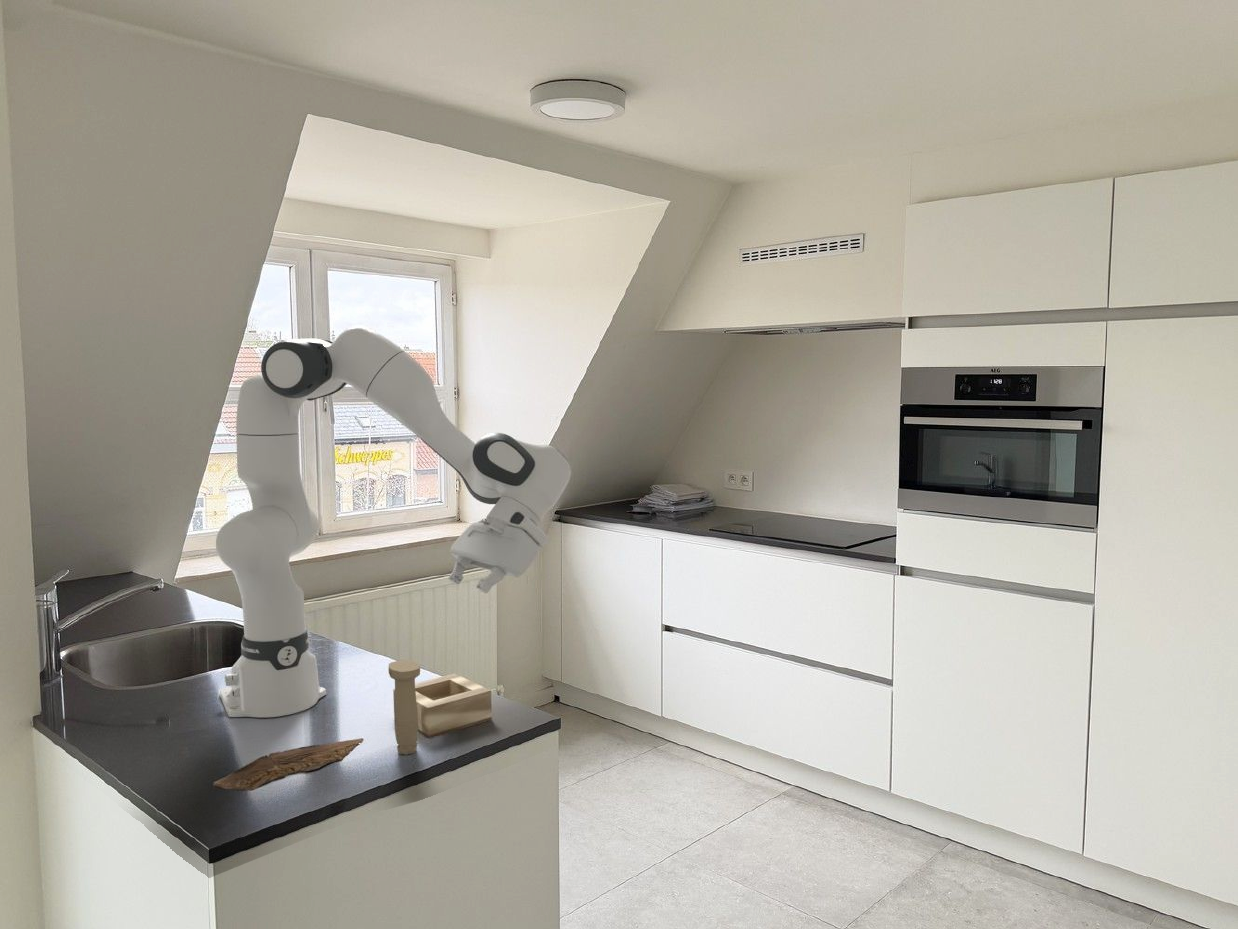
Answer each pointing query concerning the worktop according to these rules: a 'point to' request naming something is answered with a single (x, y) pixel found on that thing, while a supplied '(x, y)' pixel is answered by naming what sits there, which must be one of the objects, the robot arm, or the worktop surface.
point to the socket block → (450, 705)
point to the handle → (405, 704)
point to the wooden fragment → (286, 764)
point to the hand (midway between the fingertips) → (466, 586)
